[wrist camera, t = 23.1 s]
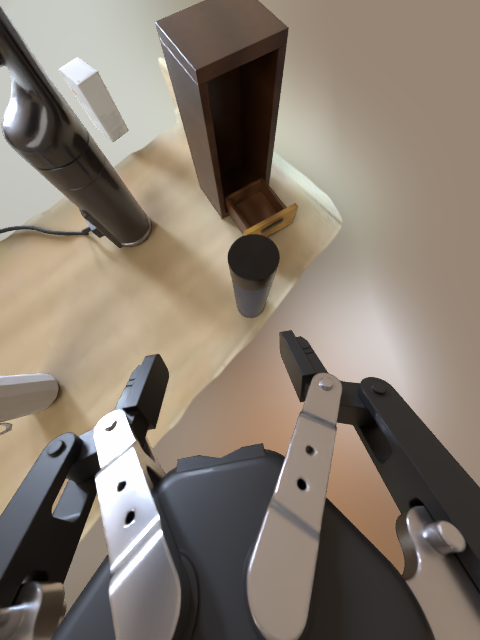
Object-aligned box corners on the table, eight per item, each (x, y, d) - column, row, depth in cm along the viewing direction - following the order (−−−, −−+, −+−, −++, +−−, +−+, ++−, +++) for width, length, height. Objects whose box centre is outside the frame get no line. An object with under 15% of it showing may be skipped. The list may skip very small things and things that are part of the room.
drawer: (246, 249, 39) (246, 236, 35) (221, 212, 41) (218, 195, 37) (293, 223, 40) (299, 207, 35) (266, 188, 42) (268, 169, 38)
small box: (129, 131, 49) (98, 71, 39) (113, 143, 48) (77, 85, 38) (112, 117, 51) (77, 55, 40) (96, 128, 50) (57, 68, 40)
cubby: (222, 219, 42) (195, 70, 20) (200, 186, 44) (154, 21, 23) (267, 194, 43) (288, 27, 21) (243, 163, 45) (241, -16, 24)
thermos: (244, 322, 37) (241, 289, 19) (232, 298, 38) (219, 246, 20) (269, 310, 37) (289, 267, 19) (256, 287, 38) (264, 226, 21)
